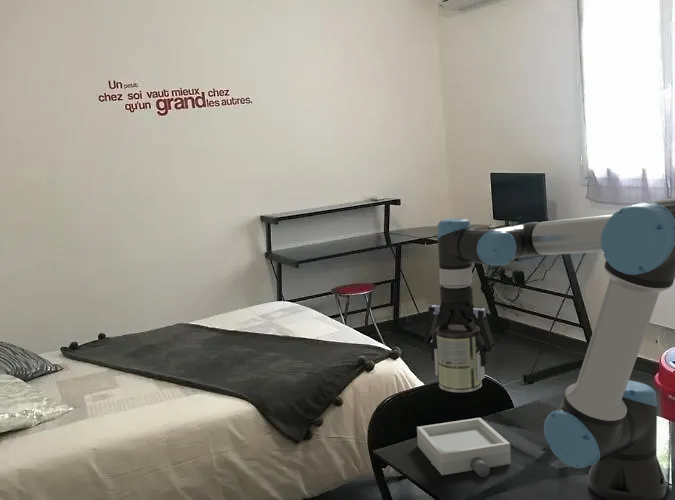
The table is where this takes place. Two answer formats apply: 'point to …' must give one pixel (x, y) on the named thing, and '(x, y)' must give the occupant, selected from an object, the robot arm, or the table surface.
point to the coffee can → (457, 358)
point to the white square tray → (463, 446)
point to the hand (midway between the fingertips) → (459, 376)
